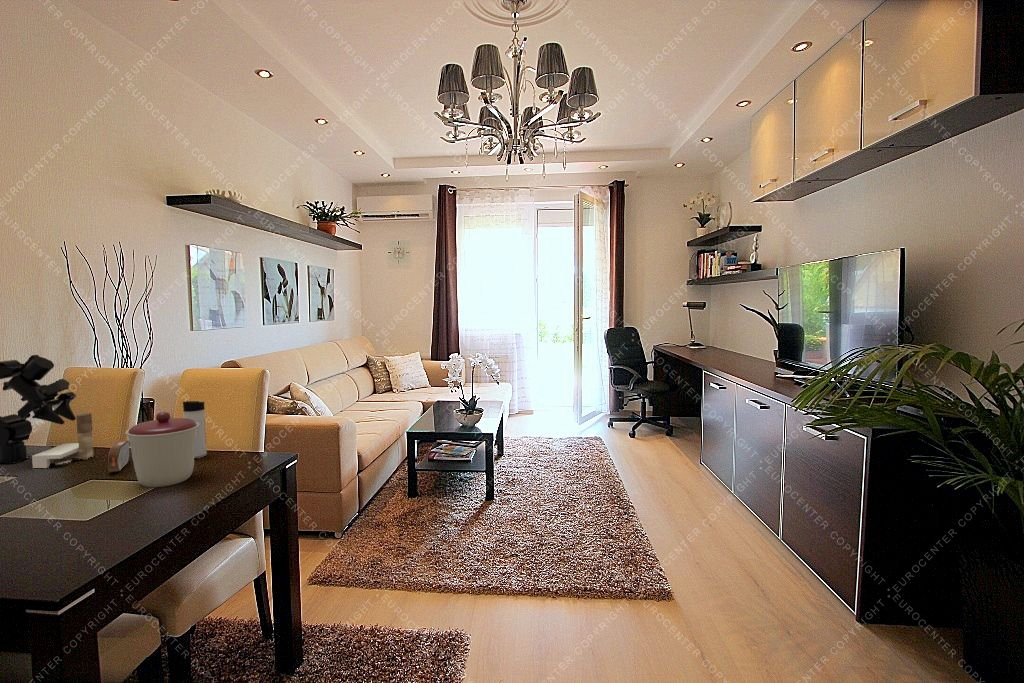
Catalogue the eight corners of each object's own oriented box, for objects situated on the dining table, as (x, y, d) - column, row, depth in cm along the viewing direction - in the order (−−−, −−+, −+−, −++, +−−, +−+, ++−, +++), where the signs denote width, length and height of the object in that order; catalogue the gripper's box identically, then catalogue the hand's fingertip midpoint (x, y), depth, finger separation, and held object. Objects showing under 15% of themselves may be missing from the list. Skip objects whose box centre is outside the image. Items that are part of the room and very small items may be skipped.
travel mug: (179, 459, 171) (177, 401, 170) (197, 453, 178) (194, 398, 176) (194, 461, 169) (191, 402, 168) (211, 455, 176) (208, 399, 174)
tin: (121, 462, 168) (119, 437, 168) (132, 460, 170) (131, 436, 169) (107, 476, 155) (105, 449, 154) (119, 474, 156) (118, 448, 155)
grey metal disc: (50, 466, 164) (50, 462, 164) (60, 462, 168) (60, 458, 168) (66, 466, 164) (65, 462, 164) (75, 462, 169) (75, 458, 168)
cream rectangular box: (32, 469, 160) (32, 455, 160) (65, 456, 174) (64, 443, 174) (60, 468, 162) (60, 454, 161) (90, 455, 175) (90, 442, 175)
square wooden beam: (44, 465, 163) (41, 420, 162) (63, 457, 172) (60, 414, 170) (76, 464, 164) (73, 419, 163) (93, 456, 173) (91, 413, 172)
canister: (182, 467, 163) (179, 403, 161) (213, 478, 154) (211, 410, 152) (116, 485, 147) (112, 414, 146) (146, 497, 138) (142, 422, 136)
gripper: (25, 376, 158) (66, 410, 161) (68, 368, 177) (105, 399, 179) (-2, 401, 158) (40, 435, 160) (45, 391, 176) (81, 421, 179)
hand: (69, 421), depth 169 cm, fingers open, 5 cm apart
